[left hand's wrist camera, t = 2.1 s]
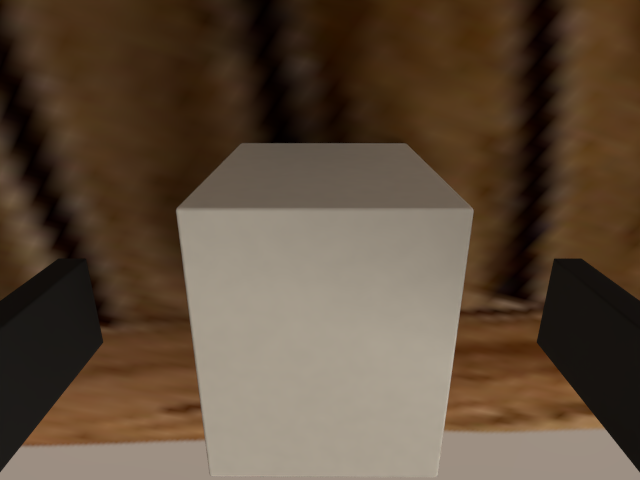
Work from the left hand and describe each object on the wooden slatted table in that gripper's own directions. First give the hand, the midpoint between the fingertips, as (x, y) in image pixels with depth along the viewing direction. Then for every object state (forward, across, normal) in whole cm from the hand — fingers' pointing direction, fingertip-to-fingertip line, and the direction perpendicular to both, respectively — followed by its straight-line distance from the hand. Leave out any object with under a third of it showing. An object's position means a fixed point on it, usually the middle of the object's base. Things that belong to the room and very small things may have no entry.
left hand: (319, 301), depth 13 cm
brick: (+4, 0, 0) cm, 4 cm away
